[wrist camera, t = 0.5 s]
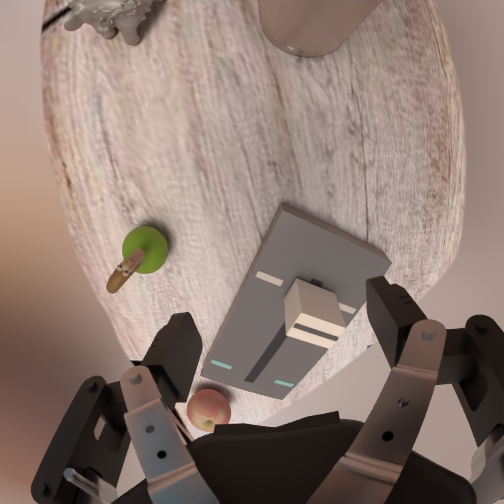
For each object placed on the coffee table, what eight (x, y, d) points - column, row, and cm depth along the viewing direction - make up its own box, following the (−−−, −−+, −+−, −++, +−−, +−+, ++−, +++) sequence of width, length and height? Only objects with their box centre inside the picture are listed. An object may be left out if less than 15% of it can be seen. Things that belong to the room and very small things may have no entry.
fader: (296, 278, 29) (301, 313, 23) (335, 293, 29) (346, 329, 24) (284, 298, 30) (285, 336, 25) (321, 312, 31) (329, 349, 25)
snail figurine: (187, 235, 31) (148, 292, 21) (158, 268, 34) (117, 327, 23) (154, 205, 30) (99, 247, 19) (127, 240, 32) (75, 291, 21)
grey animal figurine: (156, 45, 22) (124, 25, 15) (76, 58, 22) (38, 51, 15) (172, -16, 18) (148, -45, 11) (92, 1, 18) (59, -14, 11)
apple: (241, 400, 45) (236, 436, 38) (206, 405, 47) (199, 438, 40) (219, 377, 42) (212, 415, 35) (184, 383, 44) (173, 418, 37)
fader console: (281, 202, 29) (282, 210, 26) (383, 251, 31) (392, 263, 28) (203, 361, 41) (200, 376, 38) (282, 386, 42) (282, 400, 40)
